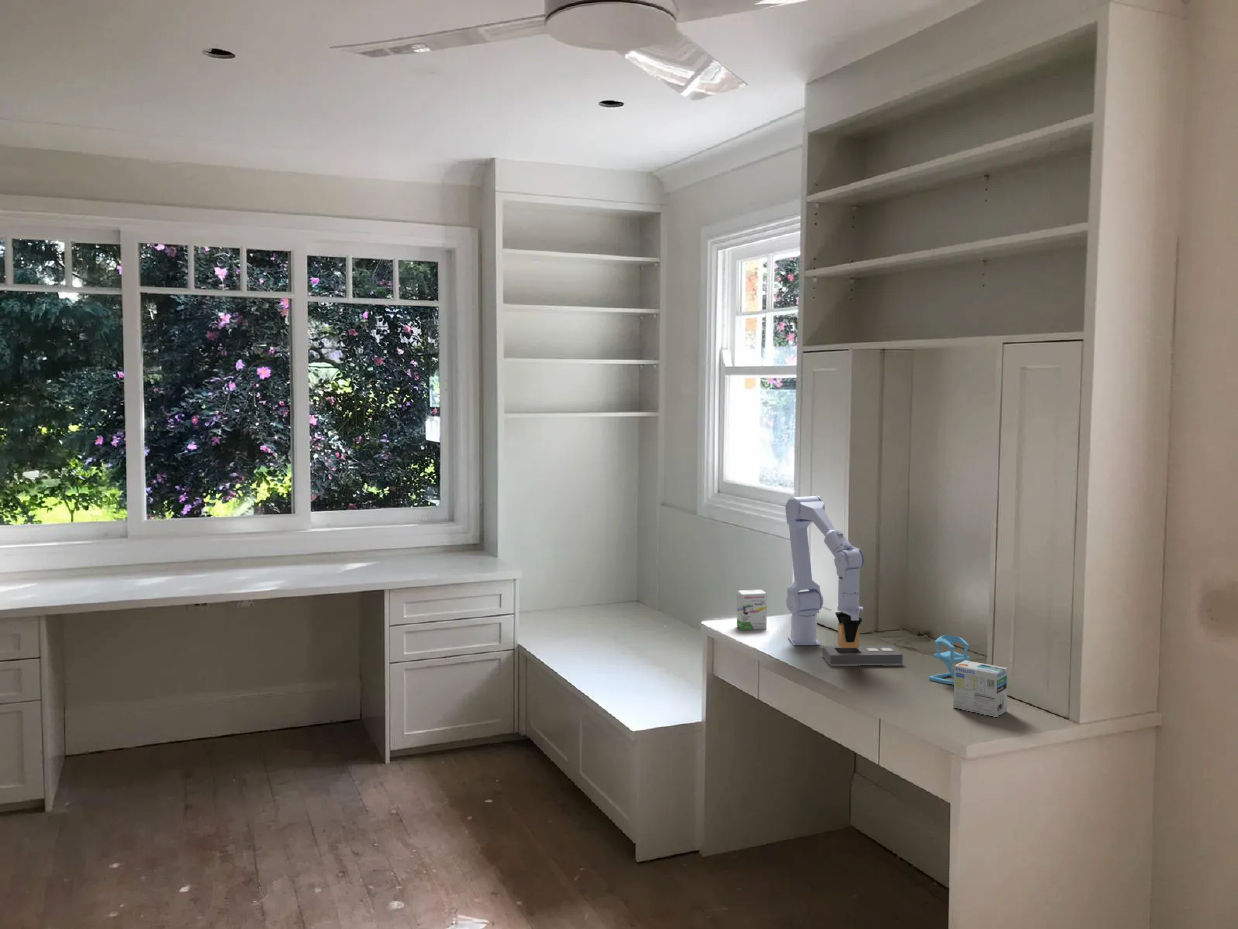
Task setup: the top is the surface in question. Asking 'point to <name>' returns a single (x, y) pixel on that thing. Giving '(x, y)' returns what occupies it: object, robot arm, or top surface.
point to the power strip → (862, 655)
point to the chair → (949, 657)
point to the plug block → (842, 640)
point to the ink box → (751, 609)
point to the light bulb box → (980, 688)
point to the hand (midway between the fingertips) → (848, 639)
